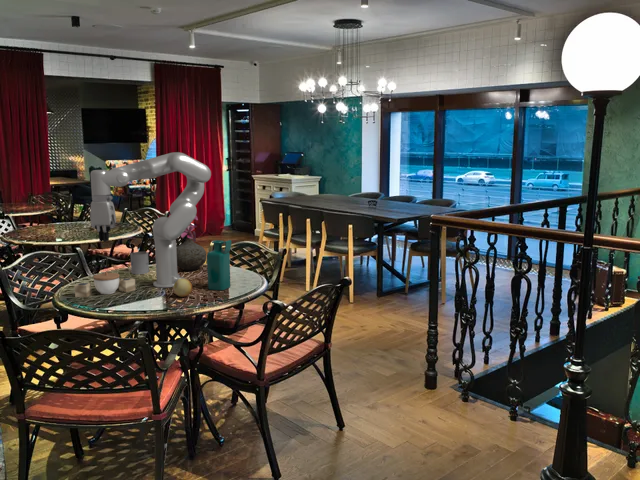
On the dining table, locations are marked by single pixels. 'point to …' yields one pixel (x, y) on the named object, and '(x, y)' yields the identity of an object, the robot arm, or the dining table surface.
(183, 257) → the vase
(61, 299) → the dining table surface
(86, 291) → the marked cube 1
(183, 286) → the fruit
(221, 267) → the teal bottle
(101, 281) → the lidded jar
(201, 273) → the dining table surface
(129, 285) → the marked cube 2
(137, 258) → the mug
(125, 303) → the dining table surface
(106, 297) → the dining table surface
